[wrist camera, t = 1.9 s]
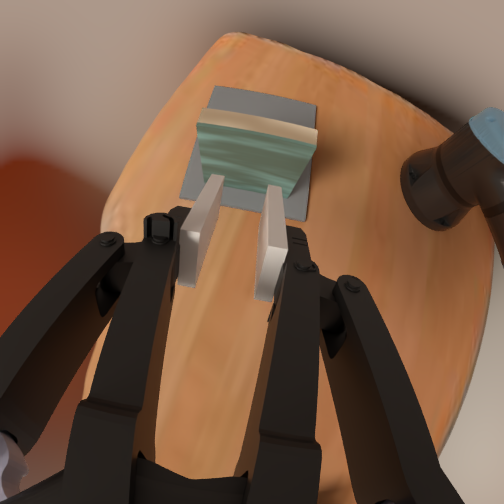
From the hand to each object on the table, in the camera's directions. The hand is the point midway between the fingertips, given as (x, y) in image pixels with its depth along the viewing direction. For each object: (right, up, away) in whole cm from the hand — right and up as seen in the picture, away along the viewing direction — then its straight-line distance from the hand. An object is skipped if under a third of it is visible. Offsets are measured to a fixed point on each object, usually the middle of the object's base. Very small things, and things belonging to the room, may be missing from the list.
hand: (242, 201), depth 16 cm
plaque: (0, +7, +23) cm, 24 cm away
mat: (+1, +14, +25) cm, 29 cm away
